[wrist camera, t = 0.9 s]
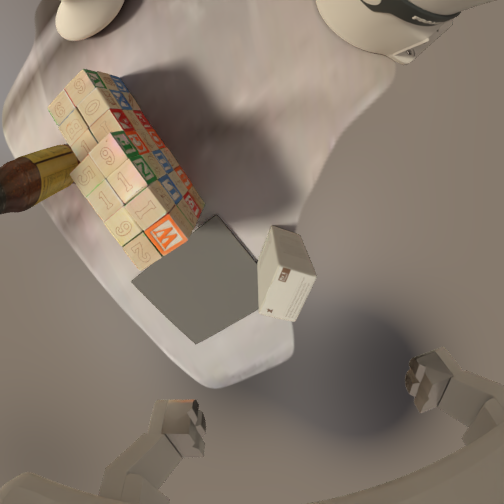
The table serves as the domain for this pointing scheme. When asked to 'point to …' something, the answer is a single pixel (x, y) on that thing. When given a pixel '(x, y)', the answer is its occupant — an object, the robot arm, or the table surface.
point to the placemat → (203, 282)
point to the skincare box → (284, 275)
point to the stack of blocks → (125, 168)
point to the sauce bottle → (35, 177)
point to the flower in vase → (85, 17)
